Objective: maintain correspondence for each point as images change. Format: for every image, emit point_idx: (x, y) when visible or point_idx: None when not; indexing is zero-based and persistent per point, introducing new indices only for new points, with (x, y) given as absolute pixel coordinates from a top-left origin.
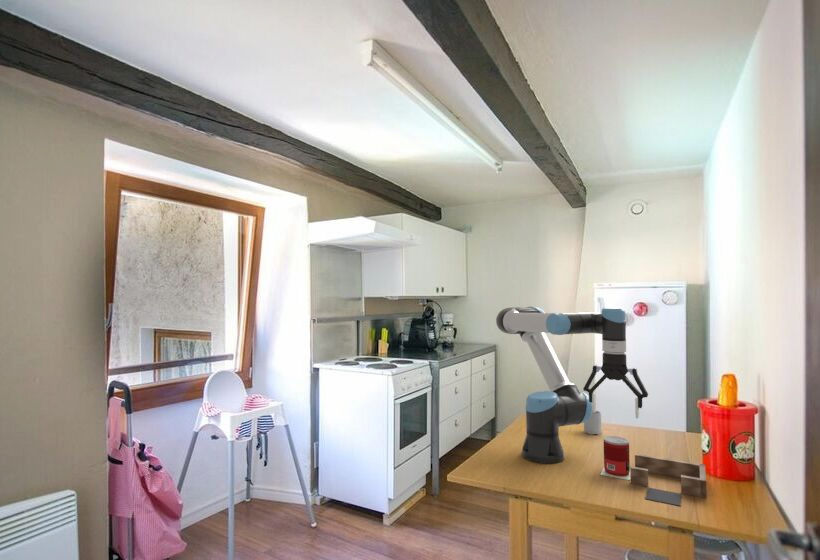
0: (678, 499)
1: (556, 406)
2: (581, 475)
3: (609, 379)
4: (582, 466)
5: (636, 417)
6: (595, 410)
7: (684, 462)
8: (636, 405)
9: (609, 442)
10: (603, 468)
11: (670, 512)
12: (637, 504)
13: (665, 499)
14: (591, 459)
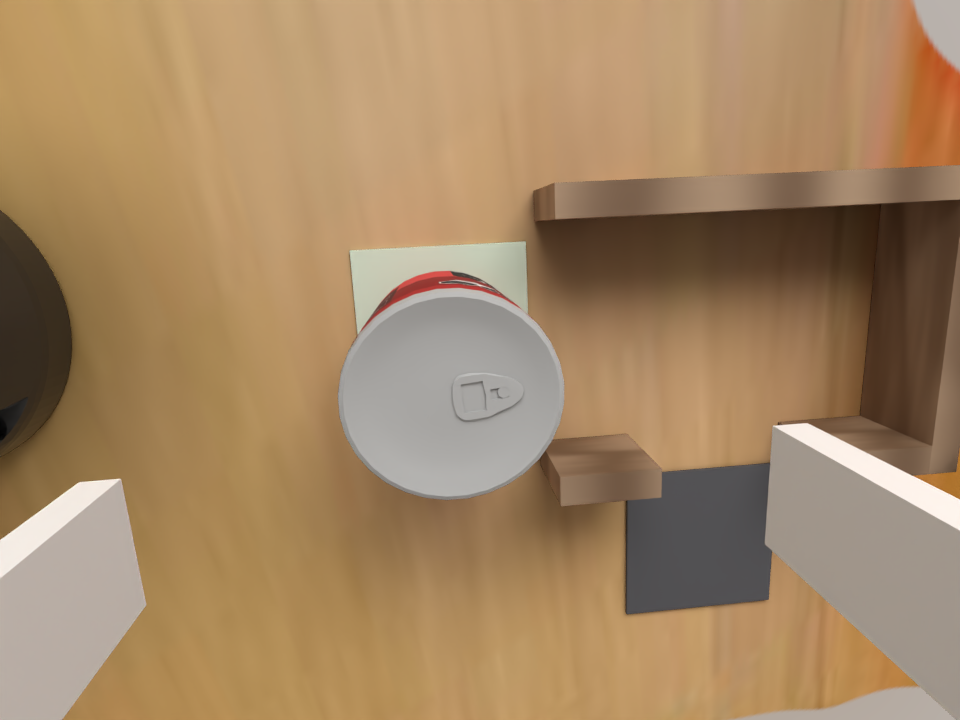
0: (763, 539)
1: None
2: (275, 507)
3: None
4: (228, 359)
5: (783, 550)
6: (119, 539)
7: (879, 190)
8: (952, 693)
9: (413, 493)
10: (357, 326)
11: (726, 677)
12: (599, 683)
13: (709, 572)
14: (234, 182)
